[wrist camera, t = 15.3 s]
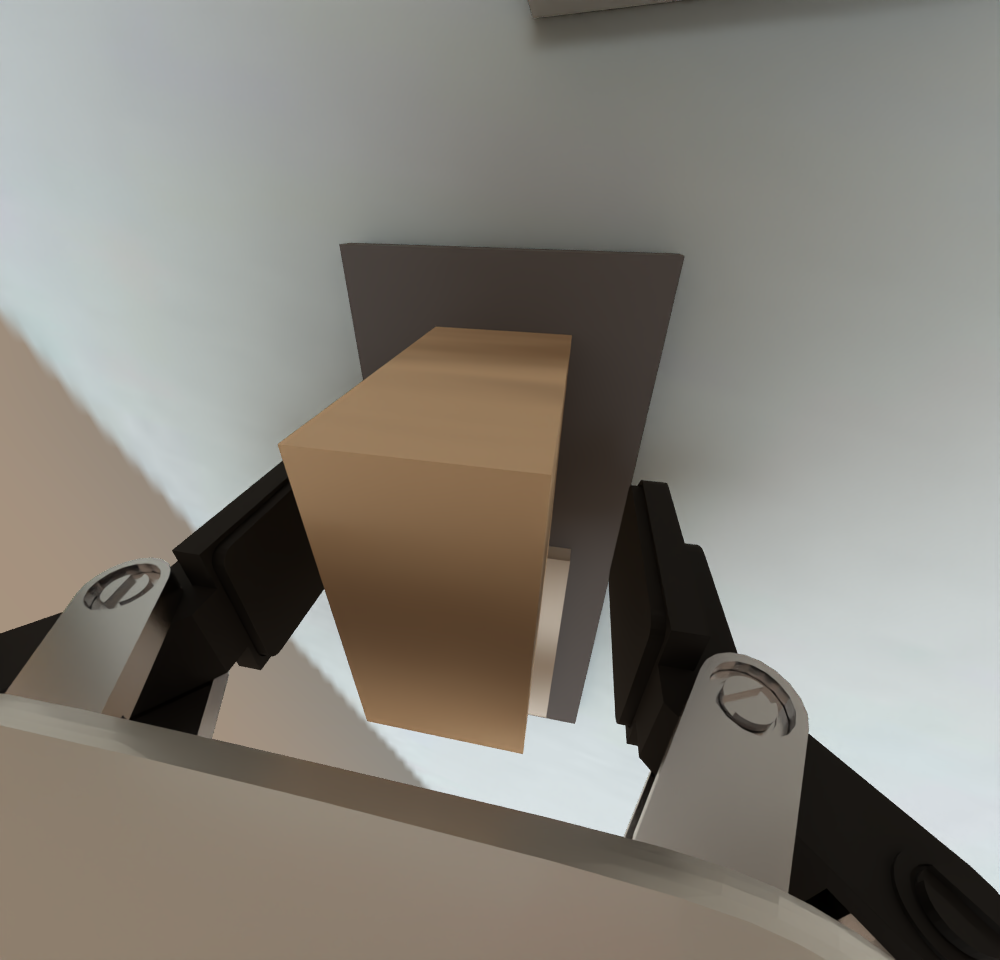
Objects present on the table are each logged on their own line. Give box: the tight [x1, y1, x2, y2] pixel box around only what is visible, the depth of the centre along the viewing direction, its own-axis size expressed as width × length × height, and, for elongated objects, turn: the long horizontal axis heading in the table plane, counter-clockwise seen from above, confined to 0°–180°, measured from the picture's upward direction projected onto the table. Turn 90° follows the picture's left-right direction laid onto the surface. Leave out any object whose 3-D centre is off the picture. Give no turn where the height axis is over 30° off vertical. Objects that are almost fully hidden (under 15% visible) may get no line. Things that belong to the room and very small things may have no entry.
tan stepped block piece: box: [278, 327, 572, 754], centre depth 12 cm, size 17×5×6 cm, turn 179°
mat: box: [339, 243, 684, 724], centre depth 15 cm, size 20×8×1 cm, turn 179°
